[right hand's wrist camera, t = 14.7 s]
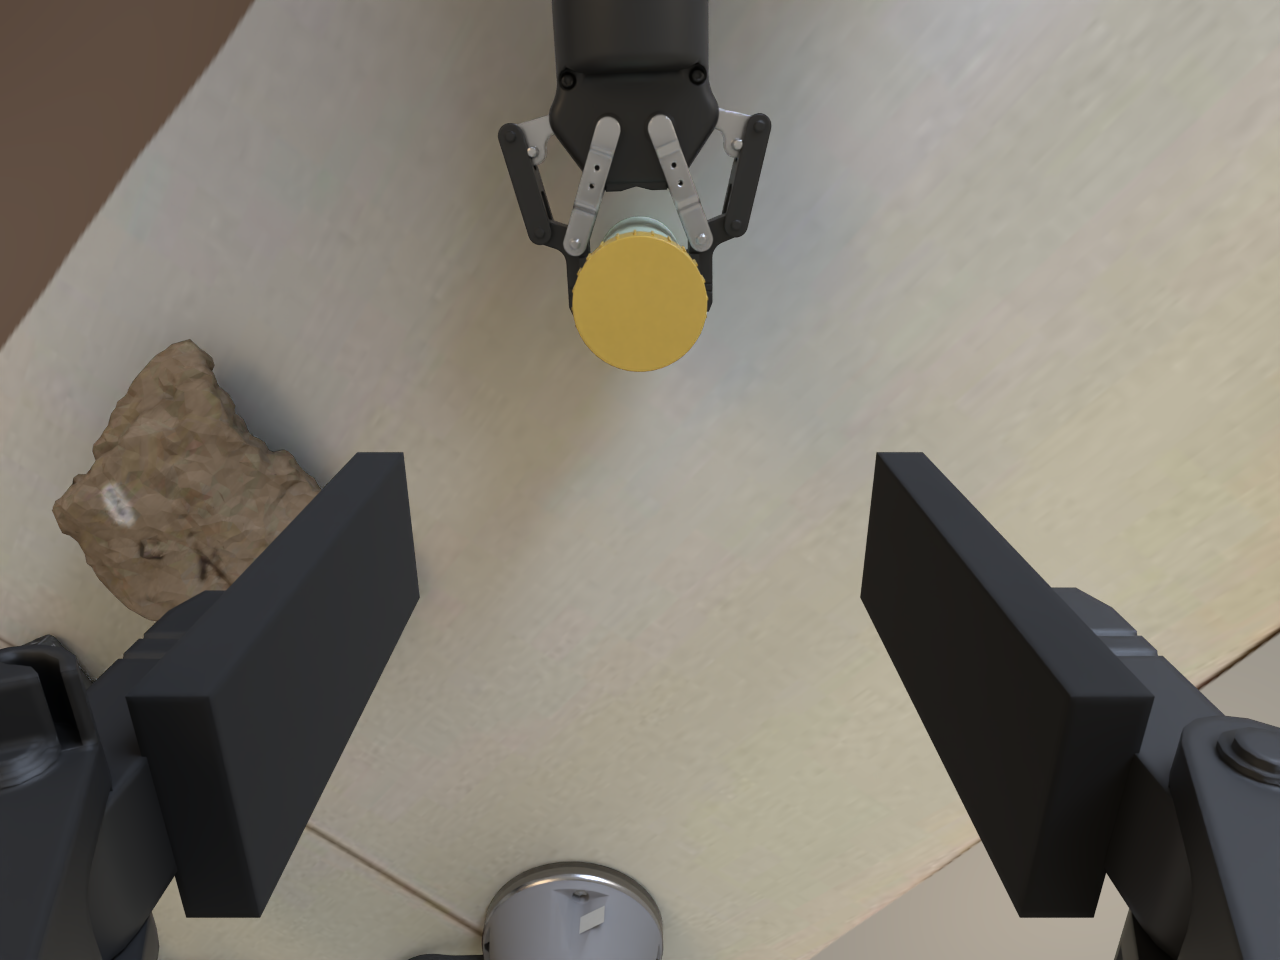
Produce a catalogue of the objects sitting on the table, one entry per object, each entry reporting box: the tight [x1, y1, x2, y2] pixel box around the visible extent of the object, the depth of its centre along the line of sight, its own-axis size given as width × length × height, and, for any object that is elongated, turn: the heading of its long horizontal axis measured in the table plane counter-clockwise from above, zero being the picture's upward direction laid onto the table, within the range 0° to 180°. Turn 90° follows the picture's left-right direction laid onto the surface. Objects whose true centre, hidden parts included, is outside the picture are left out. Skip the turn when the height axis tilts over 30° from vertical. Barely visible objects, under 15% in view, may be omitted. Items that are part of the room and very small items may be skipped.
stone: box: [52, 339, 321, 621], centre depth 54 cm, size 21×15×6 cm
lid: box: [572, 230, 708, 372], centre depth 36 cm, size 6×6×2 cm
